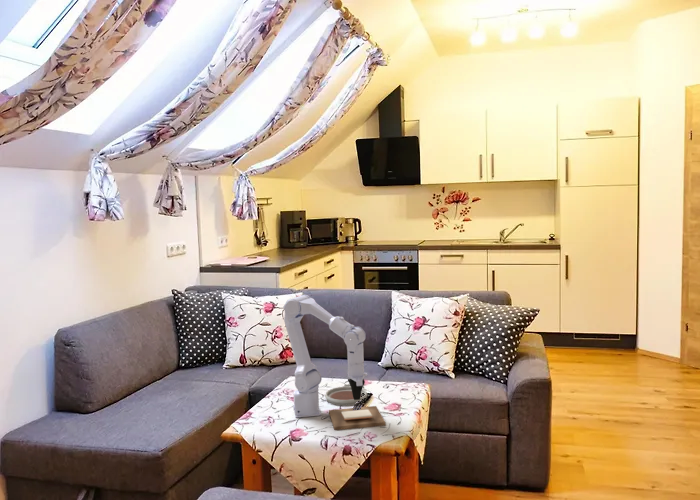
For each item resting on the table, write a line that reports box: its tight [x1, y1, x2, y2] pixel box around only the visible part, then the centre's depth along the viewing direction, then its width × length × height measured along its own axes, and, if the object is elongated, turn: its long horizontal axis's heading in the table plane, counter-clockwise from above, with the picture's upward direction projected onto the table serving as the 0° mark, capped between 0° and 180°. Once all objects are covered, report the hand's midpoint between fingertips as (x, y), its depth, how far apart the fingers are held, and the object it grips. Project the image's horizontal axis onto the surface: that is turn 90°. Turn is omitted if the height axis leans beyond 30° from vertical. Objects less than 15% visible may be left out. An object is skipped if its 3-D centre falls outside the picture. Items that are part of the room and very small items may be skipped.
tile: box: [341, 409, 372, 420], centre depth 220 cm, size 10×9×1 cm
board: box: [328, 405, 386, 431], centre depth 221 cm, size 18×16×1 cm
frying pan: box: [324, 383, 368, 407], centre depth 248 cm, size 17×3×28 cm
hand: (356, 399), depth 217 cm, fingers closed
